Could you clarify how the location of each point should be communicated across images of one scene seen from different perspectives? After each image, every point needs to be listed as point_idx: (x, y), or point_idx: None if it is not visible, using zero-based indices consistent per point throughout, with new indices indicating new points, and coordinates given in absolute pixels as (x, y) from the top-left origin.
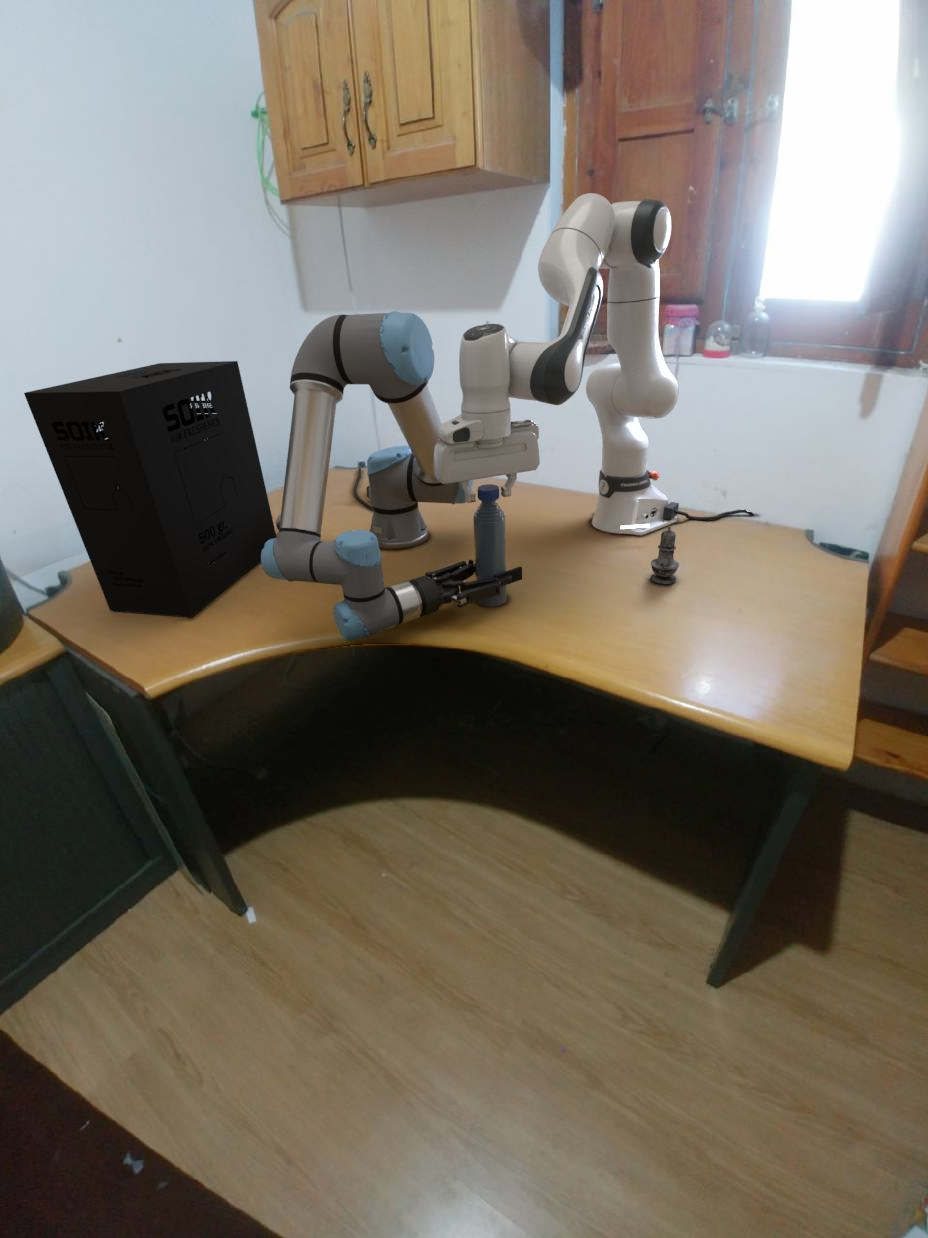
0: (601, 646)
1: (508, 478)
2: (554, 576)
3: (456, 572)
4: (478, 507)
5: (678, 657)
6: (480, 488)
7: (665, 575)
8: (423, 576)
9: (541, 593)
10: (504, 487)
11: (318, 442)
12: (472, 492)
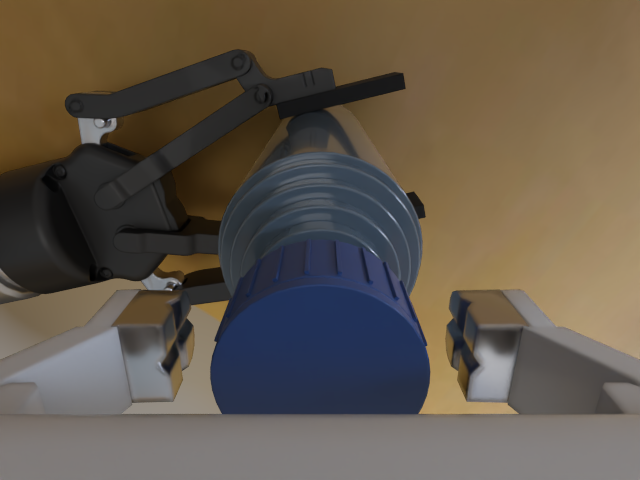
0: None
1: (603, 383)
2: (576, 79)
3: (188, 146)
4: (249, 253)
5: None
6: (235, 377)
7: None
8: (29, 232)
9: (470, 172)
10: (490, 370)
11: None
12: (153, 365)
